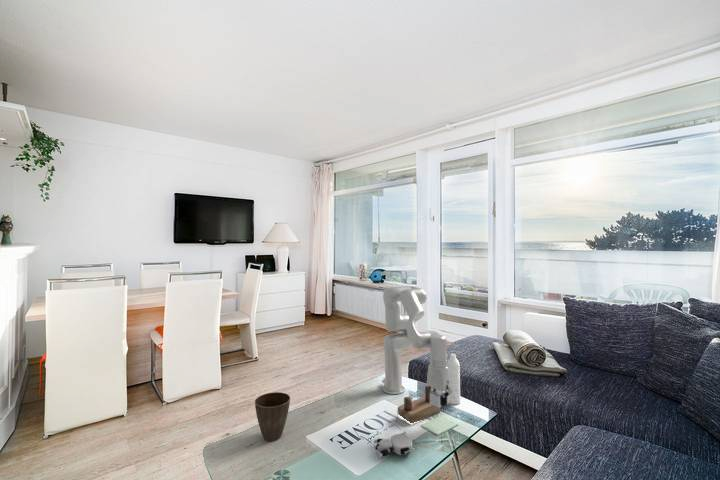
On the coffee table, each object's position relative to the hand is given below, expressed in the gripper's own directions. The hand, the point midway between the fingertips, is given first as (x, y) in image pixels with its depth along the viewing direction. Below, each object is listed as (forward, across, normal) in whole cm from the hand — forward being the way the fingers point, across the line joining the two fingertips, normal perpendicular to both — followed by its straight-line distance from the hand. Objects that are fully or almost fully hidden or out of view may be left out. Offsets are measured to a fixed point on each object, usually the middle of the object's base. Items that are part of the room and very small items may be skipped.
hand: (439, 402), depth 155 cm
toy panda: (+11, +2, -30) cm, 31 cm away
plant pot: (+11, -38, -64) cm, 75 cm away
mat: (+10, 0, 0) cm, 10 cm away
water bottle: (+11, -12, +24) cm, 29 cm away
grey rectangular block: (0, 0, 0) cm, 0 cm away
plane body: (+10, -13, 0) cm, 16 cm away
